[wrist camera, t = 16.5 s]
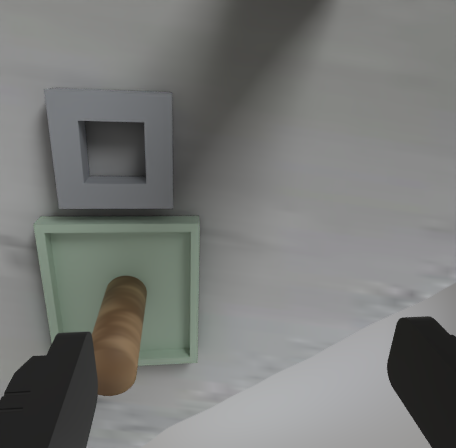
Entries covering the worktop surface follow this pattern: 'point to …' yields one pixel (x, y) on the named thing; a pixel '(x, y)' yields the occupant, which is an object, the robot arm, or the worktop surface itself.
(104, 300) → the dowel
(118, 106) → the socket block
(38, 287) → the worktop surface
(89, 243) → the tray
